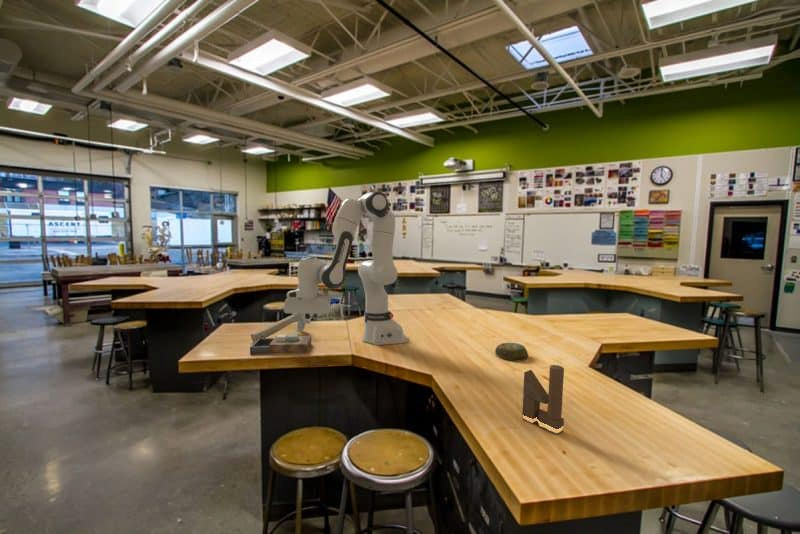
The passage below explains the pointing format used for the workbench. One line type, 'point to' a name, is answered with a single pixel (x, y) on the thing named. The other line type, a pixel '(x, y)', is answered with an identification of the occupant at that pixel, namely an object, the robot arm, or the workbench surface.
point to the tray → (261, 346)
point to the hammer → (279, 327)
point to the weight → (511, 351)
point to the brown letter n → (544, 397)
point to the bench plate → (290, 345)
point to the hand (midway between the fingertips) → (307, 323)
